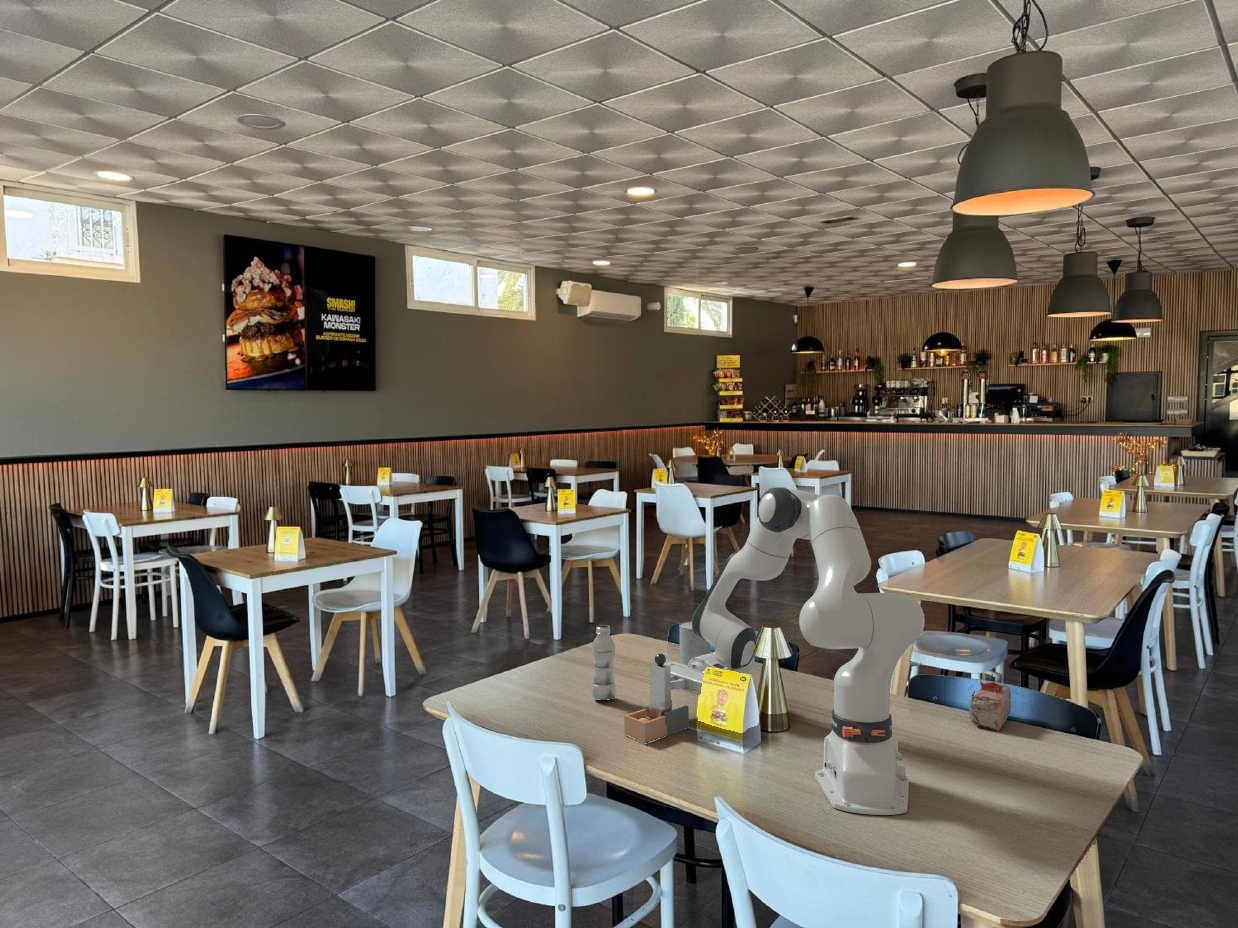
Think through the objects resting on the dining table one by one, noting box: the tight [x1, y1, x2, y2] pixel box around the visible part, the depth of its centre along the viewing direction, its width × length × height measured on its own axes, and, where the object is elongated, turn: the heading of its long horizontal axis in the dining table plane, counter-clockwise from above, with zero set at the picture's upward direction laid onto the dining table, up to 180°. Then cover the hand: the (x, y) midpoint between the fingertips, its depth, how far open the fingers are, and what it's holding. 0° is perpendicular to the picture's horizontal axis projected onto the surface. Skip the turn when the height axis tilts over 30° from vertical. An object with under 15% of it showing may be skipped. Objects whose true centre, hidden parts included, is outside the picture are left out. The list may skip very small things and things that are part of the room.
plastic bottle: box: [591, 624, 617, 700], centre depth 223 cm, size 6×7×20 cm
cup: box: [623, 708, 668, 744], centre depth 197 cm, size 7×7×5 cm
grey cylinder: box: [679, 620, 711, 665], centre depth 254 cm, size 10×10×12 cm
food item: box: [969, 681, 1012, 732], centre depth 203 cm, size 14×8×10 cm, turn 146°
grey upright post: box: [648, 652, 672, 719], centre depth 200 cm, size 3×5×16 cm
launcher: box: [646, 699, 690, 736], centre depth 202 cm, size 8×7×6 cm
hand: (663, 685), depth 201 cm, fingers closed, pressing on grey upright post
